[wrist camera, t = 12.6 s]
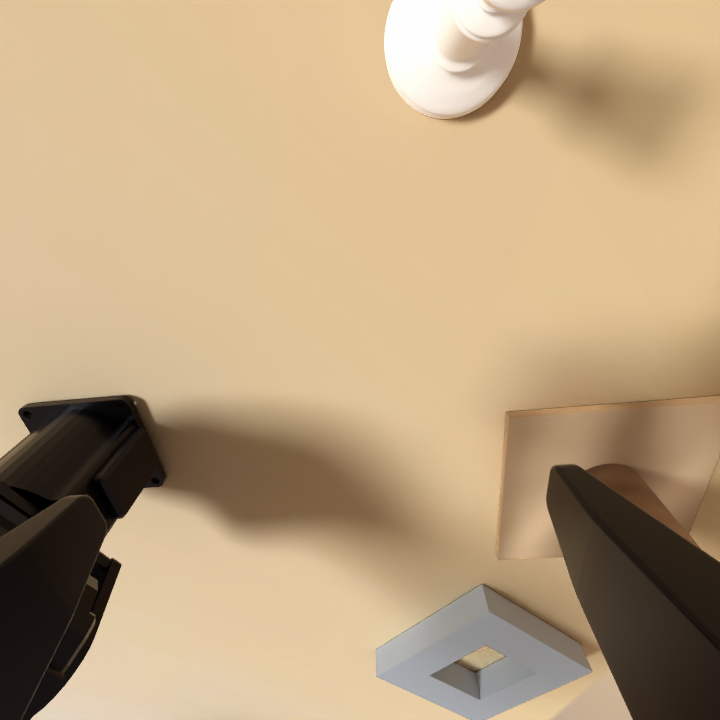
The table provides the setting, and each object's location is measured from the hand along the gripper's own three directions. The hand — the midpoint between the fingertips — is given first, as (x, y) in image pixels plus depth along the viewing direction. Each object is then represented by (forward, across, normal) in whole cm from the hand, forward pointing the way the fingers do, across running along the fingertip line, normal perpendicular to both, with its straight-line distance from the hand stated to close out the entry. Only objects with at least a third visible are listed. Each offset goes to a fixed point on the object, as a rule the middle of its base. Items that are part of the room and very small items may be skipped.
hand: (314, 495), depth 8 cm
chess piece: (+13, -5, -9) cm, 17 cm away
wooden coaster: (+13, -14, +14) cm, 24 cm away
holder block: (+13, -7, +32) cm, 35 cm away
